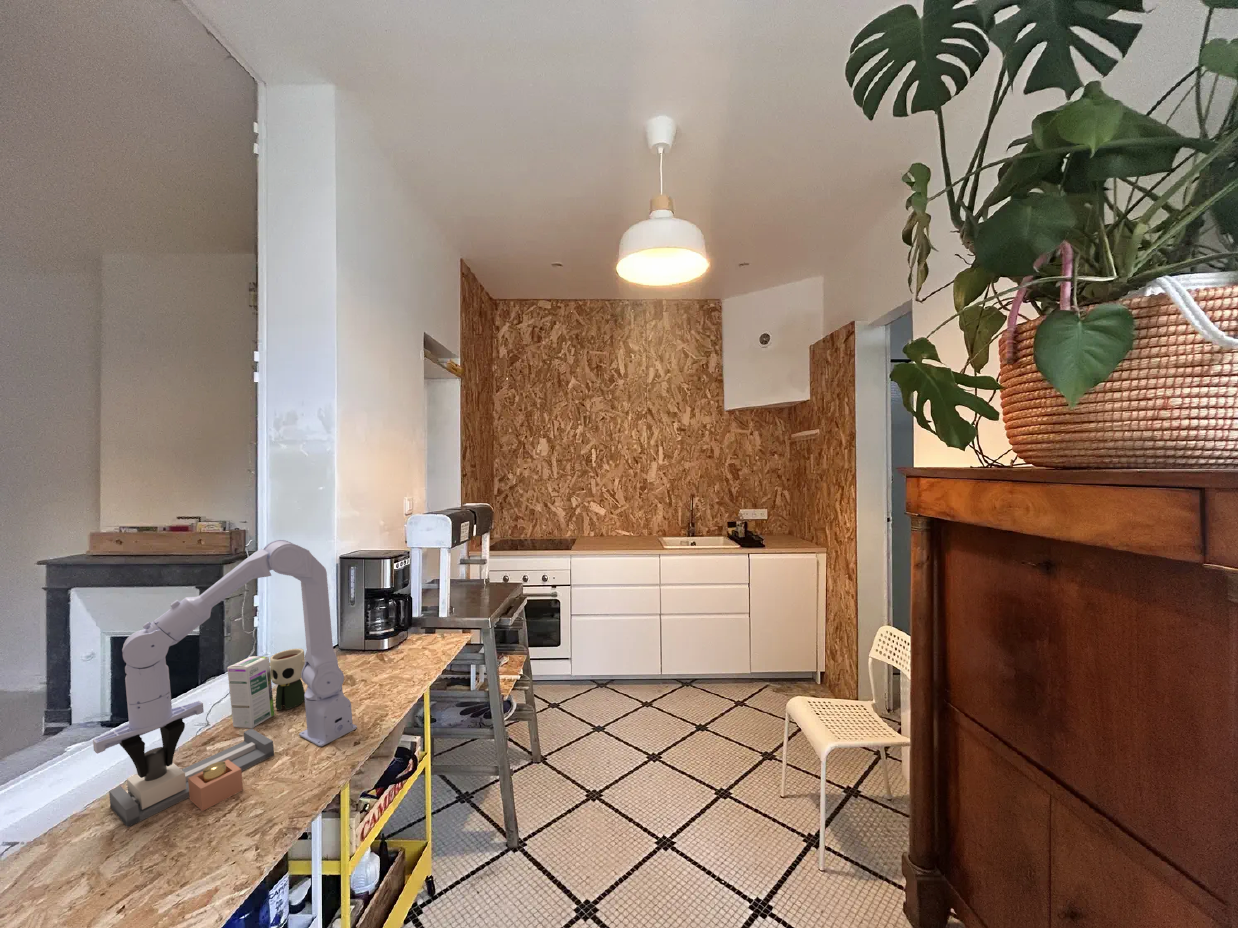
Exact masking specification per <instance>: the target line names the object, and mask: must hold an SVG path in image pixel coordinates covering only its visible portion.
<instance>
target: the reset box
mask: <svg viewBox="0 0 1238 928" xmlns="http://www.w3.org/2000/svg"><path fill="white" fill-rule="evenodd" d="M223 762H225V763H226V774H224V775H222V776H220V777H218V778H216V779H214V780H212V781H210V782H208V783H204V778H203V771H202V772H200V773H198V774H196V775H194V776H191V777H189V778H188V784H189V796H190V797H189V801H190V802H192V803H193V804H194V805H195V806H196V807H198V809H199V810H201V811H202V812H204V811H205V810H207V809H209V808H211V807H213V806H215V805H217V804H219V803H221V802H223V801H225V800H226V799H228V798H230V797H232V796H234V795H236V794H238V793H240V792H242V791H243V790H244V786H243V785H244V783H243V774H242V772H243V771H241V768H239V767H238V766H236V765H235V764H234V763H232V762H231V761H229V760H226V761H223Z"/></svg>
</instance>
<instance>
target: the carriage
mask: <svg viewBox="0 0 1238 928" xmlns="http://www.w3.org/2000/svg"><path fill="white" fill-rule="evenodd" d="M145 765H146V770H147V776H145V777H143V778H141V777H140V776H139V775H138V773H136V774H134V775H131V776H129V777H127V778H126V785H127V793H128V794H129V795H130V797H131V796H133V795H134V796H135V798H136V799H137V800H138V801H139V802H140V808H141V809H142V810H143V809H145V808H147V807H149V806H151V805H153V804H155V803H157V802H159V801H161V800H163V799H166V798H168V797H170V796H172V795H174V794H176V793H178V792H180V791H182V790H184V789H186V779H185V772H184V771H182V769H181V768H180V767H179V766H178V765H177V764H175V763H174V762H173V763H172V765H170V766H167V765H166V753H165V747H163V746H159V747H156V748H152V749H149V750H148V751H146V752H145Z"/></svg>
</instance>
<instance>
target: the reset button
mask: <svg viewBox="0 0 1238 928" xmlns="http://www.w3.org/2000/svg"><path fill="white" fill-rule="evenodd" d="M224 774H226V763H225V762H223V761H221V762H216V763H213V764H211V765H209V766H207V767H206V768H205V769H204V770H203V778H204V783H208V782H210V781H212V780H214V779H216V778H218V777H220V776H222V775H224Z"/></svg>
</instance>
